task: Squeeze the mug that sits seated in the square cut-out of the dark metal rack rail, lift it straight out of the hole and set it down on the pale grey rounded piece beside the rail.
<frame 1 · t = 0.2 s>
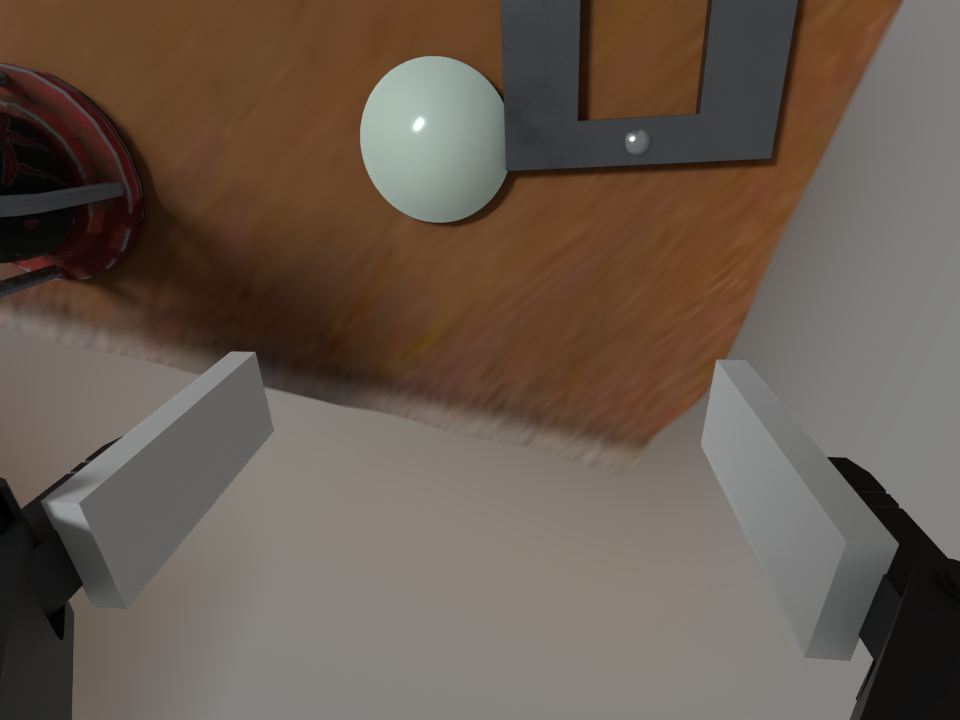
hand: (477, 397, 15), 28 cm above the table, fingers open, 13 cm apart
pale grey rounded piece: (437, 144, 38), on the table
hourglass: (50, 178, 42), on the table
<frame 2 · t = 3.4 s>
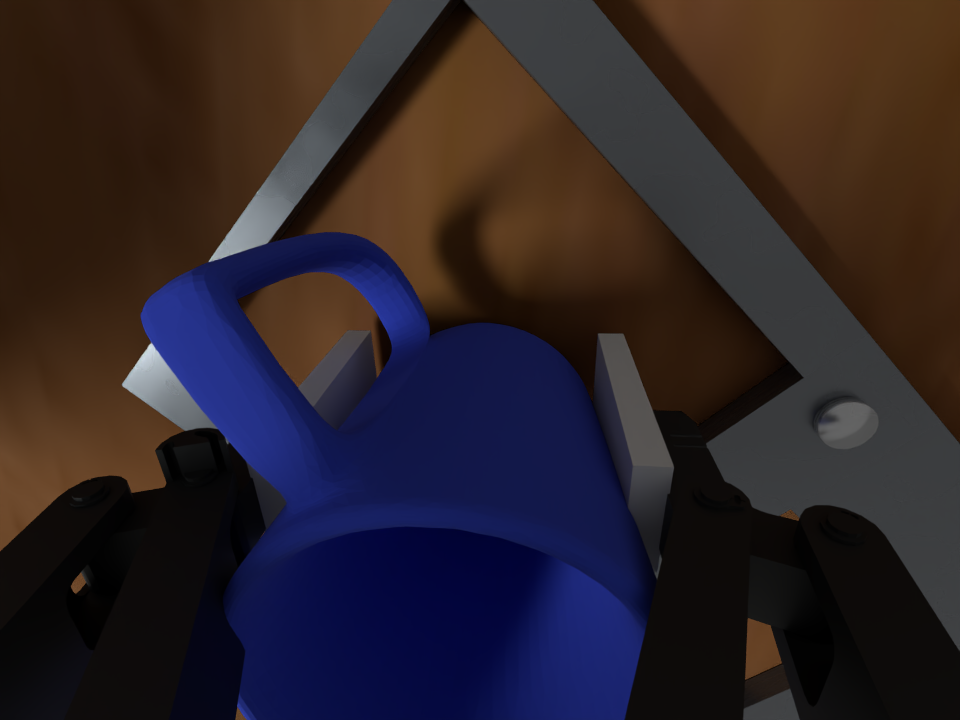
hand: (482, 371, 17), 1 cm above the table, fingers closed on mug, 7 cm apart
mug: (459, 356, 18), resting in rack rail, touching gripper
rack rail: (614, 483, 19), on the table
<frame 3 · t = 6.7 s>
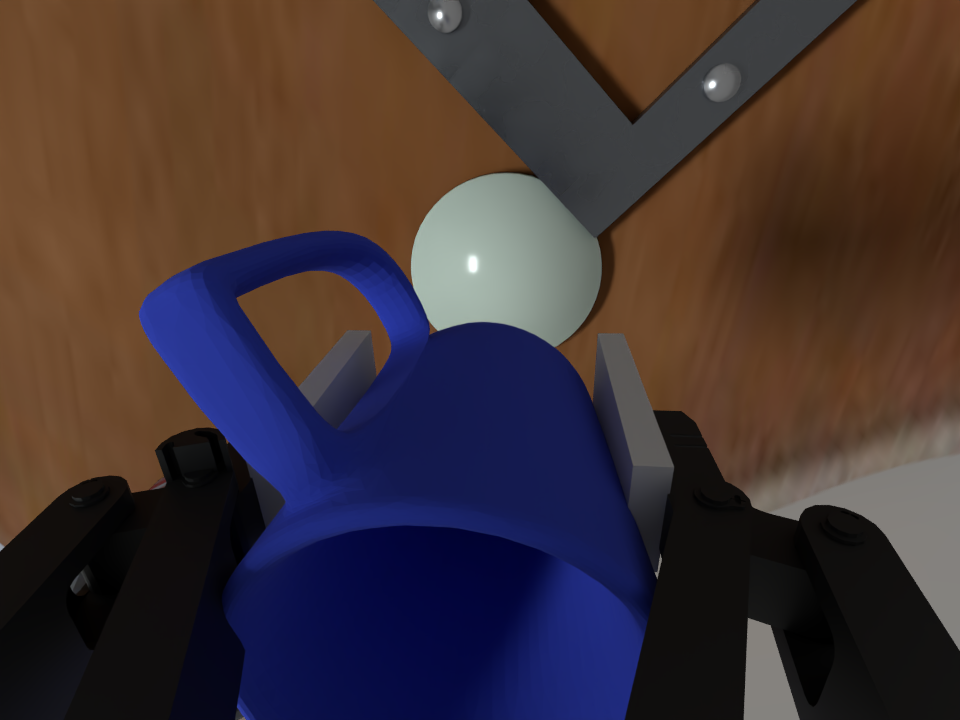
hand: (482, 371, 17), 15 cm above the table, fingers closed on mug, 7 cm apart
pale grey rounded piece: (505, 270, 31), on the table
hourglass: (240, 540, 43), on the table
mug: (459, 355, 18), point 14 cm above the table, touching gripper
when the fingers open (2 cm above the table, at t = 9.6 s): mug stays where it is, resting on pale grey rounded piece.
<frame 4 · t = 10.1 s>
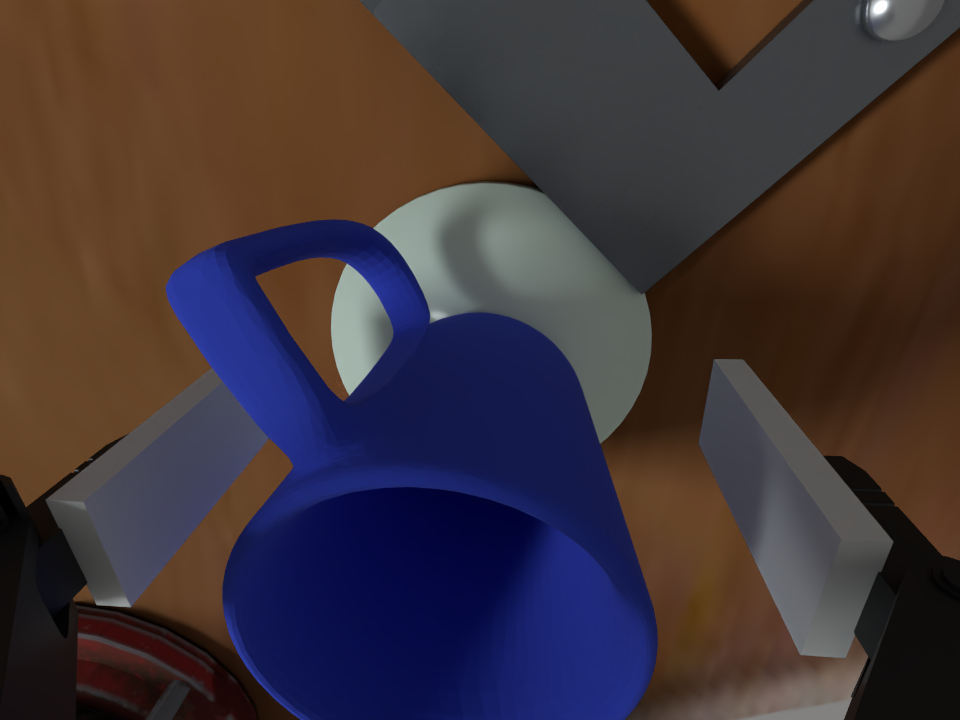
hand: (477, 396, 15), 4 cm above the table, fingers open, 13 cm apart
pale grey rounded piece: (488, 341, 19), on the table
hourglass: (131, 694, 31), on the table
mug: (457, 344, 18), point 1 cm above the table, touching pale grey rounded piece
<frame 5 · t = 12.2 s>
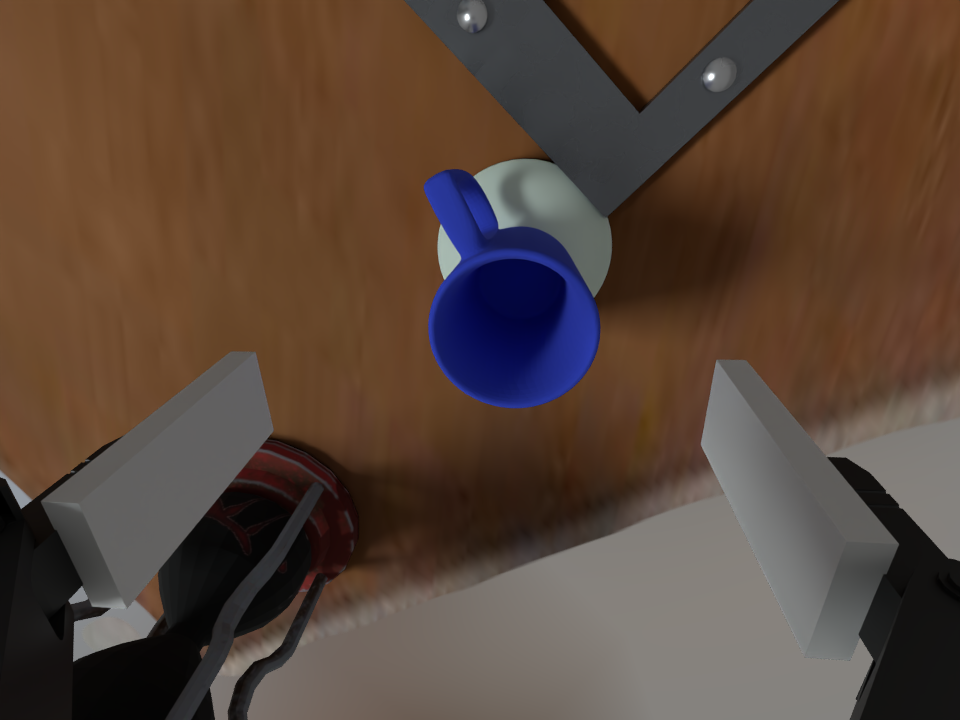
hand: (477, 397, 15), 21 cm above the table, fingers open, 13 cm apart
pale grey rounded piece: (523, 249, 34), on the table
hourglass: (271, 510, 46), on the table
mug: (507, 249, 33), point 1 cm above the table, touching pale grey rounded piece
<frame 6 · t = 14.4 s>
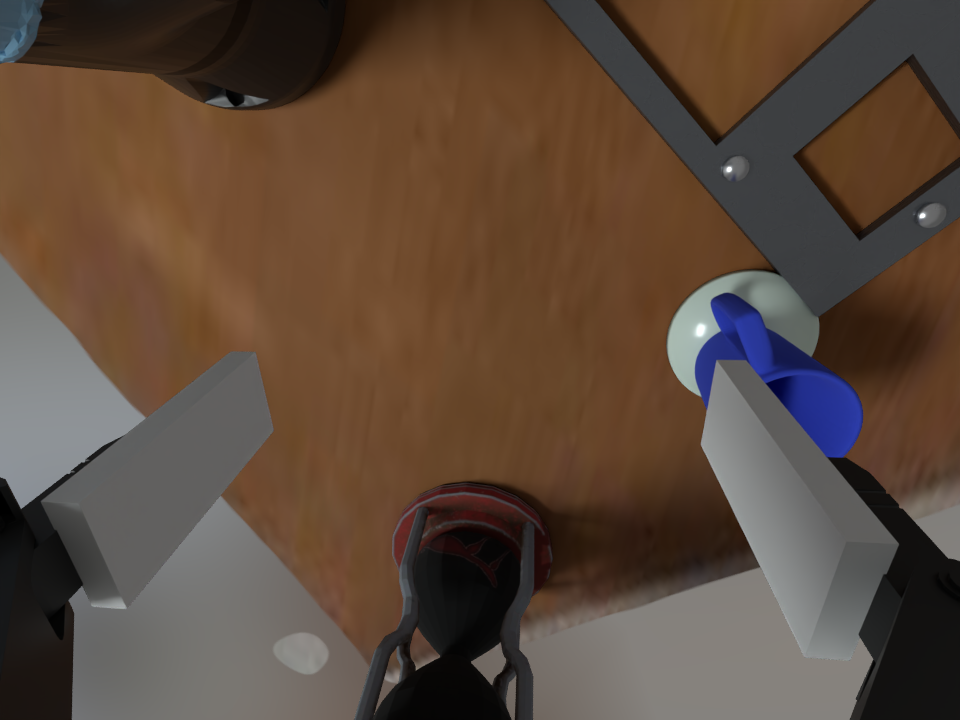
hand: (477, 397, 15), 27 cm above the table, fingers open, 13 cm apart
pale grey rounded piece: (738, 337, 41), on the table
hourglass: (473, 542, 54), on the table
mug: (727, 338, 41), point 1 cm above the table, touching pale grey rounded piece
rack rail: (806, 58, 33), on the table
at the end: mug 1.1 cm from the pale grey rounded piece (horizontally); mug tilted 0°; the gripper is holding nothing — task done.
